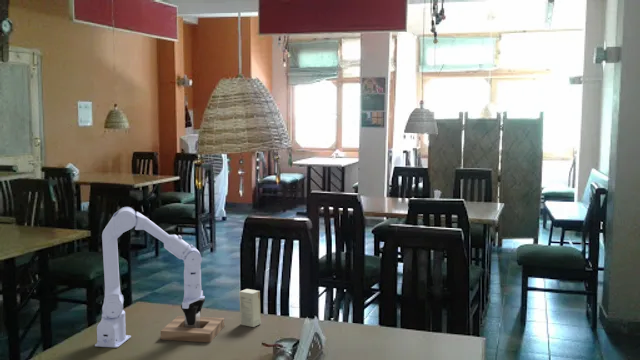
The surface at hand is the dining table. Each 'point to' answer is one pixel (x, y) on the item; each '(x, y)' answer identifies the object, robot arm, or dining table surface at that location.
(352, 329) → the dining table surface
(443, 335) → the dining table surface
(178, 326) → the well block
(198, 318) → the grey rectangular block
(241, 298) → the skincare box
